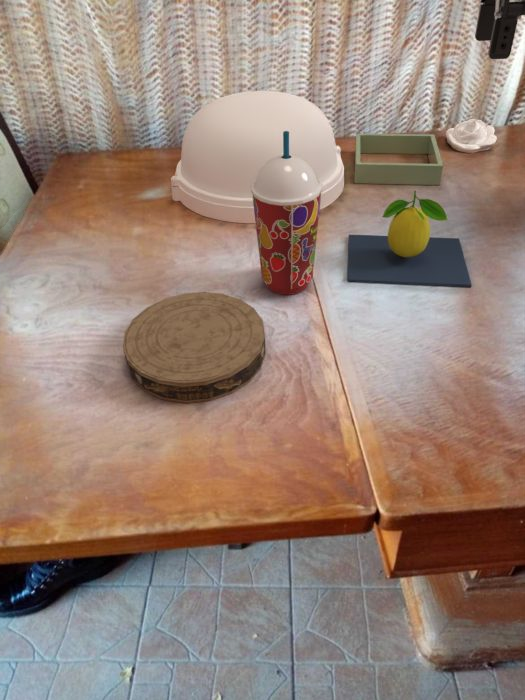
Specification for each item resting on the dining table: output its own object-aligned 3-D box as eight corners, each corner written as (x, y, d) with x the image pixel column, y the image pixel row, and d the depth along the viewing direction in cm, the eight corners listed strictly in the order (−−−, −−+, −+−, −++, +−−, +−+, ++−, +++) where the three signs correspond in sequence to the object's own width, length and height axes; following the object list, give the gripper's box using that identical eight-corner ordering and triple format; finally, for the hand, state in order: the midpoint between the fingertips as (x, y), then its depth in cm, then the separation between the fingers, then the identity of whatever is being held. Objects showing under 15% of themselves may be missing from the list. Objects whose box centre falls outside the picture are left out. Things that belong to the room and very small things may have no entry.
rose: (509, 118, 104) (489, 133, 98) (503, 141, 106) (483, 157, 101) (460, 109, 109) (438, 123, 103) (455, 131, 111) (434, 146, 106)
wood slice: (196, 296, 71) (193, 277, 69) (293, 344, 63) (293, 324, 61) (99, 361, 62) (92, 341, 60) (197, 426, 54) (194, 406, 52)
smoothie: (327, 294, 70) (336, 139, 57) (266, 306, 69) (260, 151, 55) (305, 261, 76) (308, 115, 63) (249, 272, 75) (239, 124, 61)
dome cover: (307, 140, 111) (308, 65, 101) (381, 200, 89) (391, 112, 80) (154, 167, 103) (140, 89, 94) (195, 240, 82) (183, 148, 72)
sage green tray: (431, 152, 104) (434, 134, 101) (439, 185, 93) (443, 165, 91) (354, 151, 106) (356, 133, 103) (354, 183, 95) (355, 164, 92)
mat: (458, 240, 79) (459, 238, 79) (471, 287, 70) (471, 284, 70) (348, 236, 81) (348, 234, 81) (347, 281, 72) (347, 279, 72)
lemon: (438, 265, 74) (452, 196, 67) (400, 274, 72) (411, 205, 66) (411, 242, 78) (422, 176, 72) (376, 250, 77) (383, 183, 70)
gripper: (594, -144, 46) (540, 64, 57) (549, -142, 56) (511, 33, 67) (502, -137, 47) (466, 66, 58) (474, -137, 57) (448, 35, 68)
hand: (490, 48), depth 62 cm, fingers open, 8 cm apart
